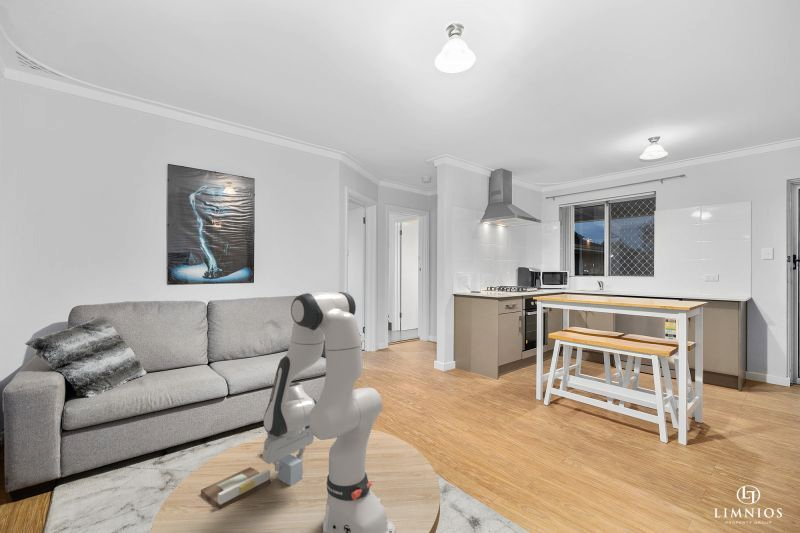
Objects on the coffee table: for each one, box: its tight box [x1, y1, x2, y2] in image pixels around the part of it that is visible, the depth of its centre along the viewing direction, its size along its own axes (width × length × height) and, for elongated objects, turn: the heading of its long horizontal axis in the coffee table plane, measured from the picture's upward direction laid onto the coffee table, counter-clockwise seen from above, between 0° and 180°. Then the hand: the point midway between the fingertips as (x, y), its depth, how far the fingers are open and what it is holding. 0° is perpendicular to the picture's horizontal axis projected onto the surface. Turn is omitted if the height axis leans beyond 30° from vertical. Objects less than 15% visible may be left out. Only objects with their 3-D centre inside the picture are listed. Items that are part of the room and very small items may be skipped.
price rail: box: [218, 468, 271, 505], centre depth 122 cm, size 2×18×3 cm, turn 144°
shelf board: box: [200, 466, 271, 510], centre depth 126 cm, size 13×18×2 cm
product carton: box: [277, 453, 303, 487], centre depth 132 cm, size 5×8×7 cm
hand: (288, 464), depth 132 cm, fingers open, 8 cm apart
